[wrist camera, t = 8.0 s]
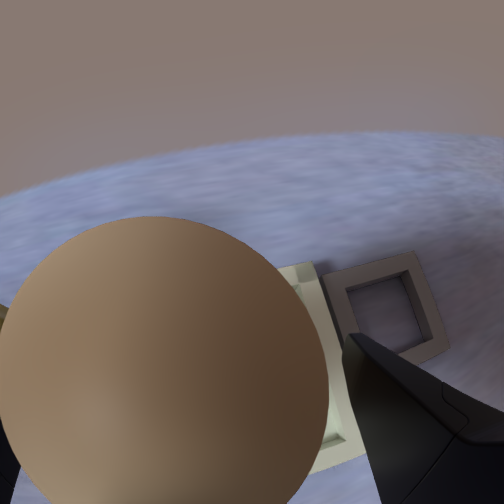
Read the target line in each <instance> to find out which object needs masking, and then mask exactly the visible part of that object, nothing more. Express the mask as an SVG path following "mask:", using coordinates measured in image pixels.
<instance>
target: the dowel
mask: <svg viewBox="0 0 504 504" xmlns="http://www.w3.org/2000/svg"><path fill="white" fill-rule="evenodd" d="M328 409H329V377H328V371H327V365H326V360H325V354H324V351H323V347H322V344H321V341H320V338H319V335H318V332H317V329H316V327H315V325H314V323H313V321H312V319H311V317H310V315H309V313H308V310H307V308H306V307H305V305H304V304H303V302H302V301H301V299H300V298H299V296H298V295H297V293H296V291H295V290H294V289H293V287H292V286H291V285H290V284H289V283H288V281H287V280H286V279H285V278H284V277H283V276H282V274H281V273H280V272H279V271H278V270H277V269H276V268H275V267H274V266H273V265H272V264H270V263H269V262H268V261H267V260H266V259H265V258H264V257H263V256H262V255H260V254H259V253H257V252H256V251H255V250H253V249H252V248H250V247H249V246H248V245H246V244H245V243H243V242H241V241H239V240H238V239H236V238H234V237H232V236H230V235H228V234H227V233H225V232H222V231H220V230H217V229H215V228H212V227H209V226H207V225H204V224H200V223H196V222H192V221H189V220H185V219H177V218H170V217H136V218H128V219H122V220H117V221H113V222H109V223H105V224H102V225H100V226H97V227H94V228H92V229H89V230H87V231H85V232H83V233H81V234H79V235H77V236H75V237H73V238H72V239H70V240H68V241H67V242H65V243H64V244H62V245H61V246H60V247H58V248H57V249H55V250H54V251H53V252H52V253H51V254H49V255H48V256H47V257H46V258H45V259H44V260H43V261H42V262H41V263H40V264H39V265H38V266H37V267H36V268H35V269H34V270H33V272H32V273H31V274H30V275H29V276H28V277H27V279H26V280H25V282H24V283H23V285H22V286H21V288H20V289H19V291H18V292H17V294H16V296H15V298H14V300H13V302H12V304H11V306H10V308H9V310H8V312H7V315H6V317H5V320H4V323H3V326H2V329H1V333H0V417H1V421H2V424H3V428H4V431H5V433H6V436H7V438H8V441H9V443H10V446H11V448H12V450H13V452H14V454H15V456H16V458H17V459H18V461H19V463H20V465H21V466H22V468H23V470H24V471H25V472H26V474H27V475H28V477H29V478H30V479H31V481H32V482H33V483H34V485H35V486H36V487H37V488H38V489H39V490H40V491H41V493H42V494H43V495H44V496H45V497H46V498H47V499H48V500H49V501H50V502H51V503H52V504H286V503H287V502H288V501H289V500H290V499H291V498H292V496H293V495H294V494H295V493H296V492H297V491H298V489H299V488H300V486H301V485H302V483H303V482H304V480H305V479H306V477H307V475H308V474H309V472H310V471H311V469H312V466H313V464H314V462H315V460H316V457H317V455H318V453H319V450H320V448H321V444H322V441H323V437H324V433H325V429H326V425H327V417H328Z"/></svg>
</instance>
